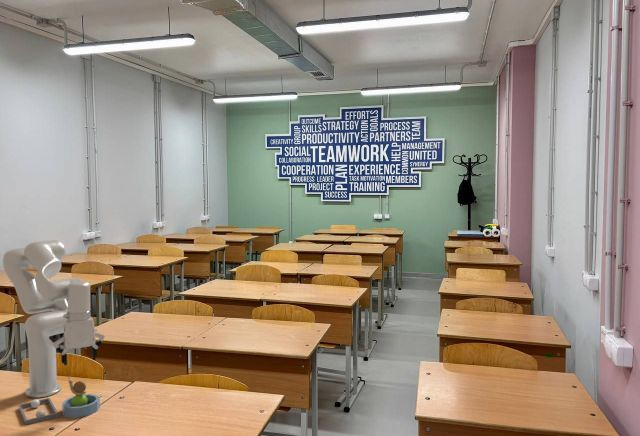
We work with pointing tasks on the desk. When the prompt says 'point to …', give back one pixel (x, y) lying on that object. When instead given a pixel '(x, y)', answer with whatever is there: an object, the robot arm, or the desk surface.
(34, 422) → the tray
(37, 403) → the pebble
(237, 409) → the desk surface
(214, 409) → the desk surface
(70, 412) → the bowl
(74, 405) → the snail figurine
